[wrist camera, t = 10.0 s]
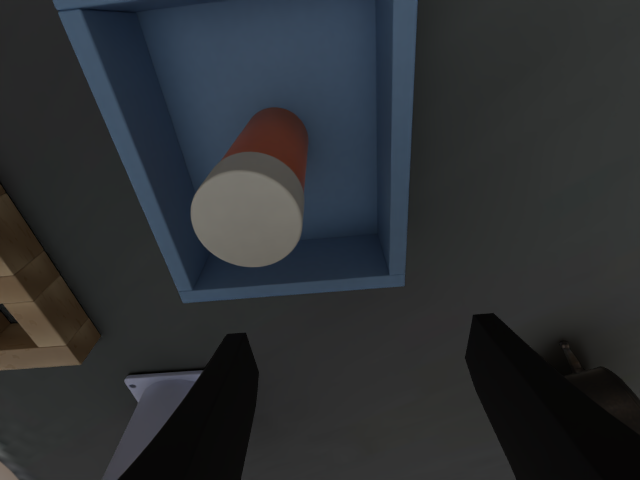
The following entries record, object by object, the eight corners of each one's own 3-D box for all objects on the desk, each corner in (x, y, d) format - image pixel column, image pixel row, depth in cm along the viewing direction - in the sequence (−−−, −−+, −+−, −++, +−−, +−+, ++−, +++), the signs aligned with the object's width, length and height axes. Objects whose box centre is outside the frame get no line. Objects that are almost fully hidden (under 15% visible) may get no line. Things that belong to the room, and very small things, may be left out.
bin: (389, 238, 21) (404, 286, 17) (207, 253, 22) (182, 303, 18) (392, -44, 14) (421, -70, 10) (117, -8, 14) (42, -21, 10)
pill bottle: (312, 168, 18) (308, 264, 11) (251, 173, 18) (207, 272, 11) (305, 102, 16) (294, 165, 9) (237, 109, 16) (173, 176, 9)
